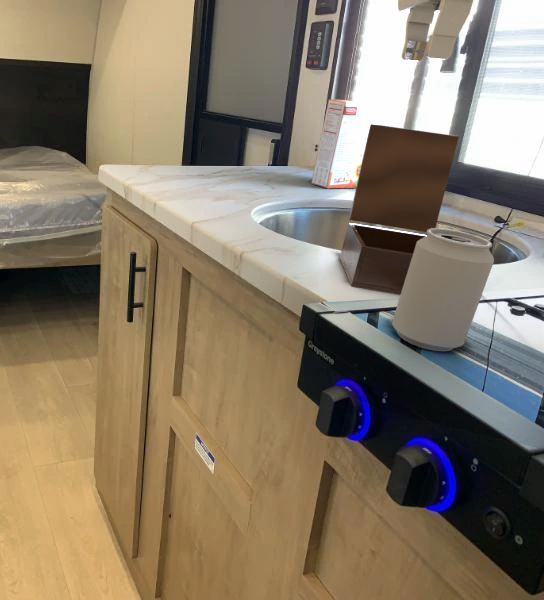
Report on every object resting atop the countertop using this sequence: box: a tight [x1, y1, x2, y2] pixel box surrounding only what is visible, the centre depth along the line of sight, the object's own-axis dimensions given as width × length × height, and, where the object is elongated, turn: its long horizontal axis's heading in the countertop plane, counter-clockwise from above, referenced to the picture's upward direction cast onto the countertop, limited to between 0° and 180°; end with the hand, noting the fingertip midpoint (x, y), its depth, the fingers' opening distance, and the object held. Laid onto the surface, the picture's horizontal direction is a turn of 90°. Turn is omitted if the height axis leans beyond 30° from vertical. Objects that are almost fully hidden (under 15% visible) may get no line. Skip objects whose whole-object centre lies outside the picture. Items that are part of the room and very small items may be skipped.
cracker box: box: [310, 98, 384, 189], centre depth 150 cm, size 14×6×21 cm, turn 122°
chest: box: [339, 222, 427, 296], centre depth 84 cm, size 13×12×6 cm
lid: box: [348, 124, 460, 233], centre depth 90 cm, size 14×12×5 cm
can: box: [391, 227, 495, 352], centre depth 64 cm, size 8×8×12 cm
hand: (422, 60), depth 55 cm, fingers open, 8 cm apart
